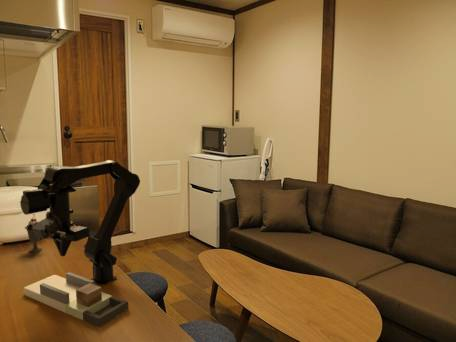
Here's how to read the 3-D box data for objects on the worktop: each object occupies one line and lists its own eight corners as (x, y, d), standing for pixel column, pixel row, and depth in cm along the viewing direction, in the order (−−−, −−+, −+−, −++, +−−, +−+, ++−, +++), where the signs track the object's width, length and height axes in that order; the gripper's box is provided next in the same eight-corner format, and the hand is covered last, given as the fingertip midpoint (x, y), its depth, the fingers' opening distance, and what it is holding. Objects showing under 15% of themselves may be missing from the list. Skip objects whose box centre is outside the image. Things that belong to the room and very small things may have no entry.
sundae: (39, 246, 164) (37, 211, 161) (47, 250, 159) (45, 214, 157) (23, 250, 159) (20, 215, 156) (31, 254, 154) (28, 218, 152)
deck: (112, 303, 119) (112, 295, 118) (83, 320, 109) (82, 312, 109) (54, 281, 132) (54, 274, 132) (24, 294, 123) (23, 287, 122)
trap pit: (128, 309, 115) (128, 301, 115) (99, 327, 106) (98, 319, 106) (112, 303, 119) (112, 295, 118) (83, 320, 109) (82, 312, 109)
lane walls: (94, 289, 122) (94, 281, 121) (66, 304, 113) (65, 294, 112) (69, 280, 127) (68, 272, 127) (40, 293, 119) (39, 284, 118)
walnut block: (101, 299, 116) (101, 287, 115) (88, 307, 111) (87, 294, 111) (90, 295, 118) (89, 283, 117) (76, 302, 114) (75, 289, 113)
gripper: (15, 209, 116) (19, 259, 118) (58, 219, 107) (62, 272, 110) (47, 201, 125) (51, 247, 128) (89, 209, 117) (92, 258, 120)
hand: (63, 255), depth 121 cm, fingers closed
